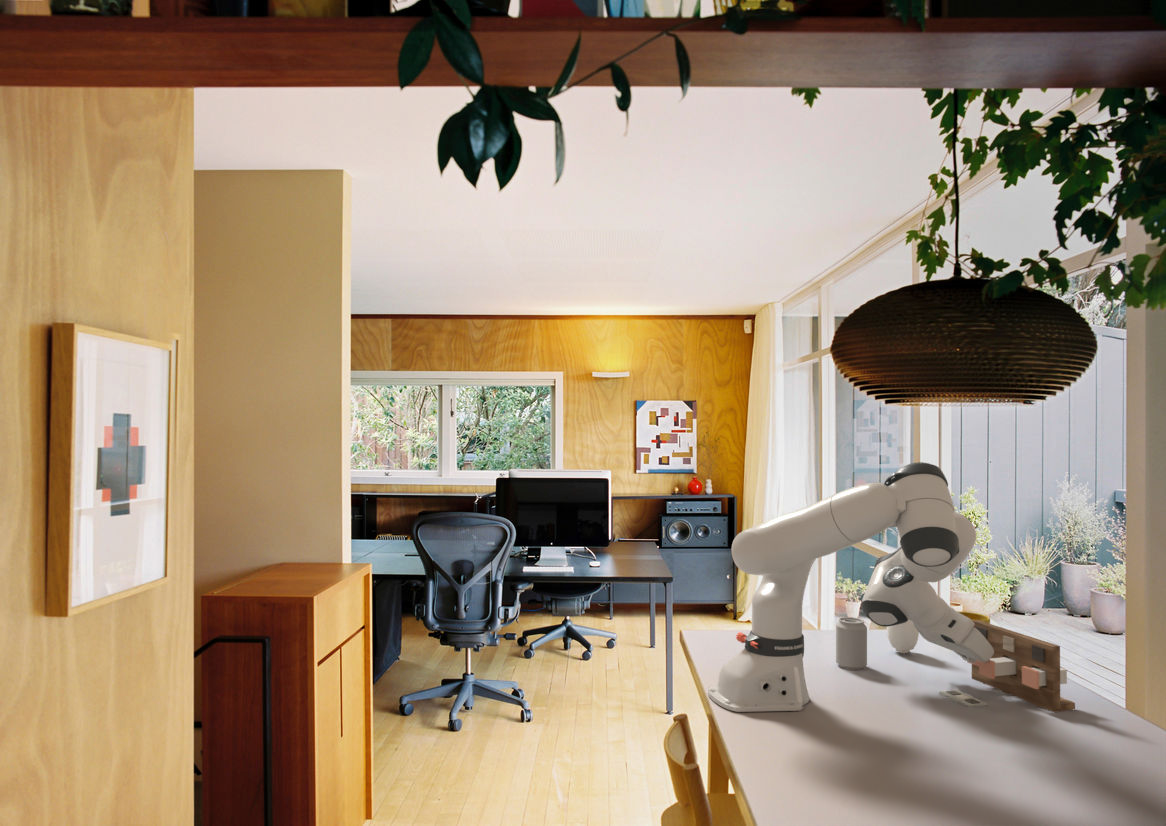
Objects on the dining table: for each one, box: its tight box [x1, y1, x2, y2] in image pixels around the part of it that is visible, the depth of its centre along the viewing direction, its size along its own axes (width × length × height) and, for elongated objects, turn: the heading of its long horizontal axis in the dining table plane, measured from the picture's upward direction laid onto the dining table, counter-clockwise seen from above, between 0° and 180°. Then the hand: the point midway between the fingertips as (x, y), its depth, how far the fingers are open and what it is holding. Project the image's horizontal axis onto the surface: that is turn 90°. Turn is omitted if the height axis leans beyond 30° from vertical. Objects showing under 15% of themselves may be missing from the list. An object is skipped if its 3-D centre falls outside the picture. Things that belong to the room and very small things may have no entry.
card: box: [938, 689, 989, 708], centre depth 171 cm, size 5×9×1 cm, turn 16°
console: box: [971, 620, 1076, 713], centre depth 176 cm, size 6×23×14 cm, turn 16°
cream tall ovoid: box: [886, 620, 920, 655], centre depth 207 cm, size 8×8×18 cm
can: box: [835, 616, 868, 671], centre depth 195 cm, size 8×8×12 cm
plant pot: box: [956, 610, 991, 624], centre depth 209 cm, size 10×10×10 cm
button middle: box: [979, 657, 1017, 679], centre depth 174 cm, size 9×4×4 cm, turn 106°
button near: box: [1022, 666, 1068, 689], centre depth 168 cm, size 9×4×4 cm, turn 106°
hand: (971, 659), depth 182 cm, fingers closed, pressing on button far
